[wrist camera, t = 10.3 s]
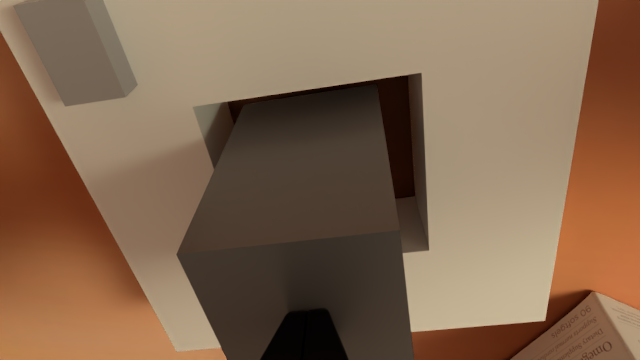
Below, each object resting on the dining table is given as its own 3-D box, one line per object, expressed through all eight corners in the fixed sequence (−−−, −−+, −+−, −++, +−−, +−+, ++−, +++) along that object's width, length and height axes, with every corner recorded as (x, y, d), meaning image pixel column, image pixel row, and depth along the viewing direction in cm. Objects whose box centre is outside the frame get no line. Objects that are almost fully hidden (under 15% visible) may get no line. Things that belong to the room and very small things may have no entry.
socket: (559, -150, 11) (649, -163, 8) (516, 262, 19) (554, 339, 15) (40, -48, 13) (-60, -24, 9) (196, 293, 20) (170, 369, 17)
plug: (373, 66, 14) (400, 230, 7) (387, 182, 17) (416, 384, 10) (252, 85, 15) (176, 254, 8) (283, 195, 17) (244, 394, 10)
